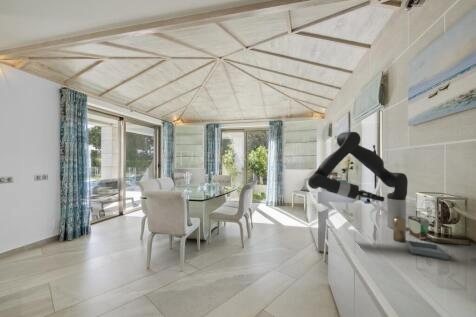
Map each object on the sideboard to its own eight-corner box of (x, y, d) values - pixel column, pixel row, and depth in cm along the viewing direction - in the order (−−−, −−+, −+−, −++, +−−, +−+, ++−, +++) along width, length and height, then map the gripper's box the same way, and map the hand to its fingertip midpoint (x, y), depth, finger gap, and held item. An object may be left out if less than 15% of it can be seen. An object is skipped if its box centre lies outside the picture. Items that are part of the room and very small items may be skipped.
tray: (405, 245, 103) (405, 240, 103) (438, 250, 97) (437, 244, 97) (411, 254, 92) (411, 248, 92) (448, 260, 87) (448, 253, 87)
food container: (436, 242, 108) (435, 221, 108) (421, 241, 109) (421, 221, 109) (420, 234, 120) (420, 216, 120) (407, 233, 121) (407, 215, 121)
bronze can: (392, 238, 113) (392, 216, 113) (404, 239, 111) (404, 217, 111) (394, 241, 109) (394, 218, 109) (406, 242, 106) (406, 220, 107)
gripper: (352, 183, 110) (388, 192, 106) (345, 183, 123) (376, 191, 119) (348, 197, 109) (384, 207, 105) (342, 195, 123) (373, 204, 119)
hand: (380, 198), depth 112 cm, fingers open, 8 cm apart
